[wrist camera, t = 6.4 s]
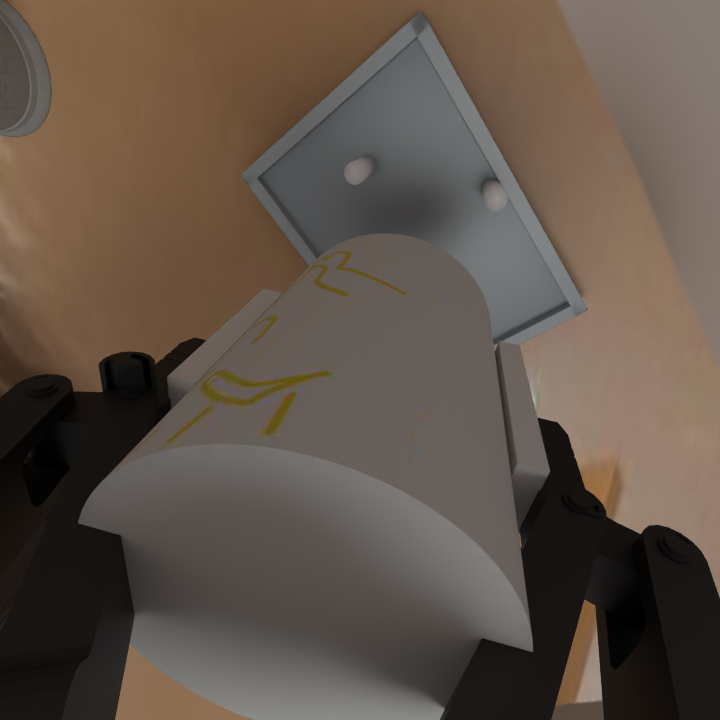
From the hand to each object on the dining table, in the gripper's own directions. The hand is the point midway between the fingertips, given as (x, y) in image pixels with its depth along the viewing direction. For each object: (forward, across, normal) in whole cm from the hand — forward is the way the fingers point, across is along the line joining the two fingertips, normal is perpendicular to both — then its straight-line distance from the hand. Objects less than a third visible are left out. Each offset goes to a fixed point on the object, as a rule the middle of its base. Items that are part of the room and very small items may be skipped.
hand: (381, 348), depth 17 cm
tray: (+17, 0, 0) cm, 17 cm away
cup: (+1, 0, 0) cm, 1 cm away
